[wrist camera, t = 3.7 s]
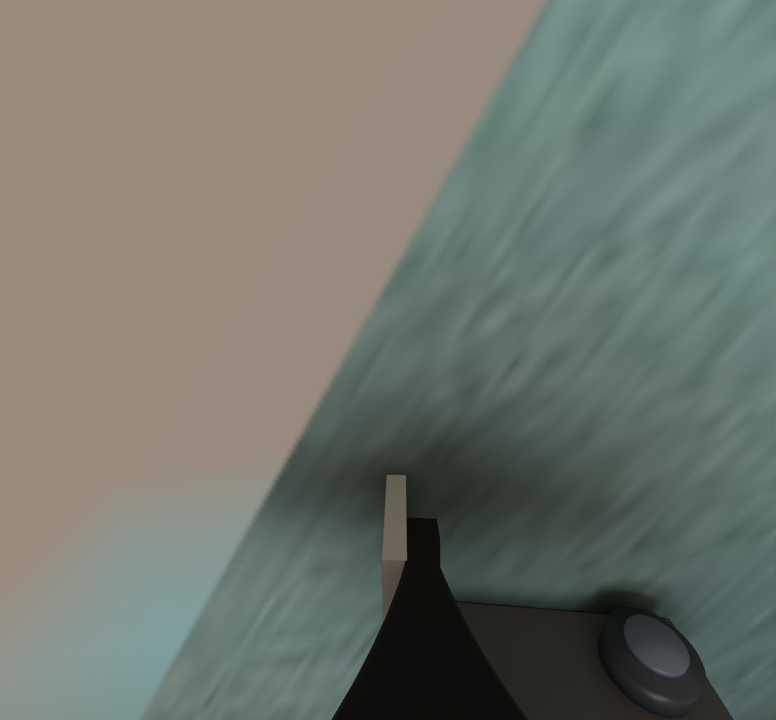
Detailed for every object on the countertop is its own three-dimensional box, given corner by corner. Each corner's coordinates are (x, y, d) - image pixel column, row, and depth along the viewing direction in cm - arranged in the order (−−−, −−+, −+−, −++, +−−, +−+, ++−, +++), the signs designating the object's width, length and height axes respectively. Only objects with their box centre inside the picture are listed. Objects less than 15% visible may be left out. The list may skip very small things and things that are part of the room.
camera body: (681, 595, 14) (765, 713, 11) (623, 713, 17) (676, 836, 14) (408, 573, 14) (410, 684, 11) (393, 694, 17) (391, 812, 14)
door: (385, 474, 13) (380, 560, 10) (407, 475, 12) (409, 561, 10) (386, 601, 15) (382, 703, 12) (405, 602, 15) (406, 704, 12)
